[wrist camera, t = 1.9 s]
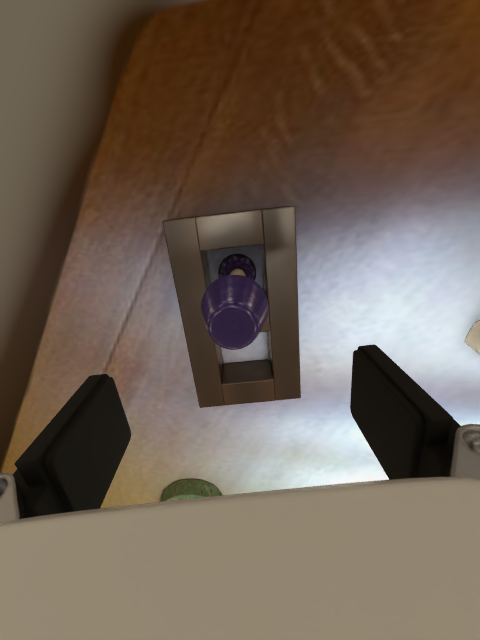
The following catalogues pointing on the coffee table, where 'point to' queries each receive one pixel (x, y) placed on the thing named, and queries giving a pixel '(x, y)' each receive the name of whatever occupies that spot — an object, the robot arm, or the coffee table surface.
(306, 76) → the coffee table surface
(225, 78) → the coffee table surface
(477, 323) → the heart sculpture
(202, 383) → the frame
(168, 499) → the decorative artifact
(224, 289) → the toy lamp
